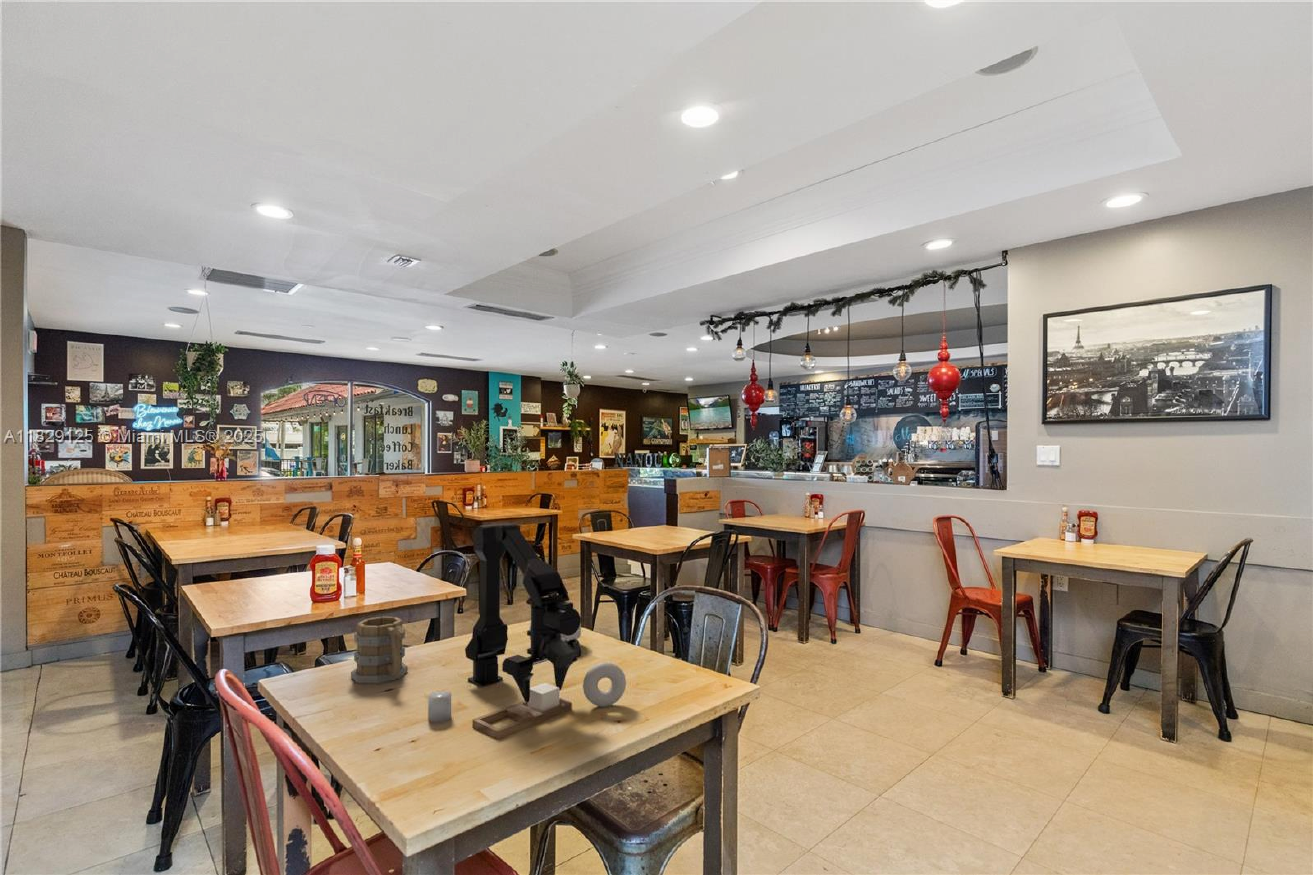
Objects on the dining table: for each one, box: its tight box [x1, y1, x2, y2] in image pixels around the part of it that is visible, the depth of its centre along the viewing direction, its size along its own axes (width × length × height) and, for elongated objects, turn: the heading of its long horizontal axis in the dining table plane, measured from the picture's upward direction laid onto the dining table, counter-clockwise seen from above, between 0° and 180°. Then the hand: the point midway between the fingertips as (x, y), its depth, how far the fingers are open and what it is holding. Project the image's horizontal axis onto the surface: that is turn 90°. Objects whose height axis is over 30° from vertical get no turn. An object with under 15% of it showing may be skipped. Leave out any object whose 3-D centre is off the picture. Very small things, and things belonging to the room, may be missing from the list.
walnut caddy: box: [472, 697, 573, 740], centre depth 142 cm, size 9×20×2 cm, turn 139°
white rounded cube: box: [528, 682, 560, 712], centre depth 146 cm, size 5×5×5 cm
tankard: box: [350, 616, 409, 685], centre depth 167 cm, size 20×13×15 cm, turn 42°
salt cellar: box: [427, 690, 452, 724], centre depth 142 cm, size 5×5×5 cm
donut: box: [582, 661, 627, 708], centre depth 149 cm, size 10×3×10 cm, turn 105°
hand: (543, 695), depth 146 cm, fingers open, 9 cm apart
